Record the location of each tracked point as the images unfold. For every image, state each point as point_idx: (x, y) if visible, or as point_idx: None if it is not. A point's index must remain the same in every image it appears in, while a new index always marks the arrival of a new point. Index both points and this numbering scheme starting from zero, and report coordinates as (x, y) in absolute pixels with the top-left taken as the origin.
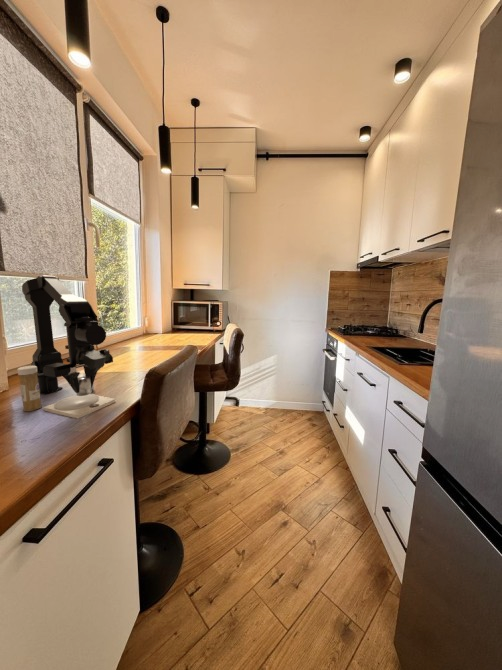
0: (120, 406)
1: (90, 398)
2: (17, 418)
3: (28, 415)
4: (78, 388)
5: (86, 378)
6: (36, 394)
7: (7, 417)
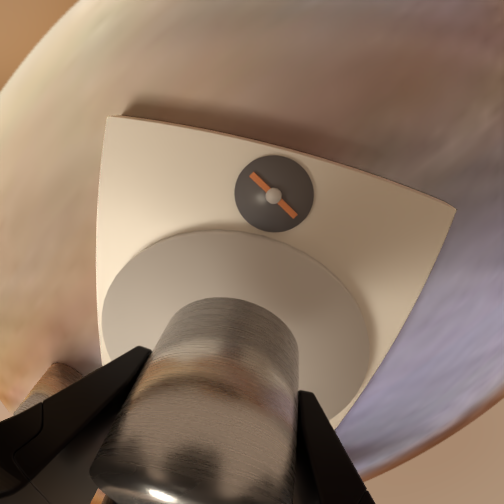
0: (197, 11)
1: (166, 309)
2: (391, 453)
3: (368, 446)
4: (309, 425)
5: (173, 489)
6: None
7: (375, 474)
